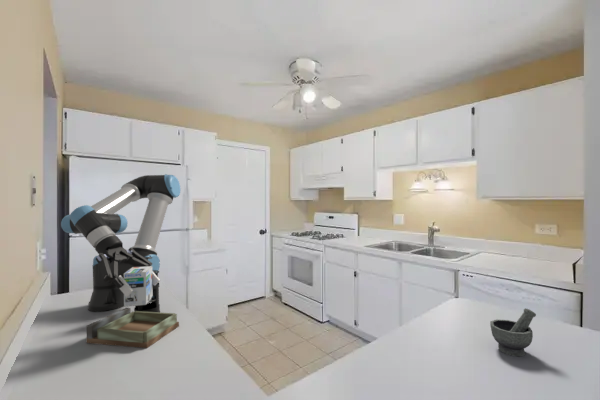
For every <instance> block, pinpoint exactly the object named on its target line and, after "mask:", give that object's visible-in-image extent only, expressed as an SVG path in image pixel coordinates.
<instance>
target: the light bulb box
mask: <svg viewBox="0 0 600 400" xmlns="http://www.w3.org/2000/svg"><path fill="white" fill-rule="evenodd" d="M124 280H125V281H126V282H127V283H128V284H129V286H130V287H131V288H132V289H133V291H132V293H131V294H130V295H129V296H128V297H126V296H125V295H124V306H123V307H125V308H129V307H135V306H138V305H146V304H147V303H148V302H149V300H150V299H151V297H152V296H153V281H152V280H153V279H152V266H146V267H132V268H131V269H129V270H128V271H127V272H125V273H124Z"/></svg>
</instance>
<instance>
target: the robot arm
mask: <svg viewBox="0 0 600 400" xmlns="http://www.w3.org/2000/svg"><path fill="white" fill-rule="evenodd" d="M180 195H181V185H180V181H179V179H178V178H177V177H176V175H173V174H166V173H165V174H149V175H148V174H147V175H146V174H145V175H142V176H139V177H136V178H134V179H132V180H130V181H128V182H126V183H124V184H123V185H122V186H121V187H120V189H118V190H116V191H115V192H113V193H111V194H110V195H108V196H106V197H105V198H102V199H101V200H100V201H98V202H96V203H94V204H92V205H87V204H86V205H85V204H84V205H81V206H78V207H76V208H75V209H73V211H71V212H70V214H67V215H65V216H64V217H63V218H62V219H61V222H60V227H61V229H62V230H63V232H65V233H67V234H73V235H79V234H80V235H81V234H82V235H83V237H84V238H85V239H86V240H87V241H88V243H89V244H90V245H91V246H92V247H93V249H94V250H95V252H97V254H98V255H95V256H94V258H93V261H92V292H91V296H90V300H89V301H88V303H87V309H88V311H90V312H105V311H106V312H107V311H111V310H117V309H120V308H122V307H124V295H125V296H126V297H128V296H129V295H130V294H131V293H132V291H133V289H132V288H131V287H130V286H129V284H128V283H127V282H126V281H125V280H124V273H125V272H127V271H128V270H129V269H131V268H132V267H146V266H152V279H153V280H152V281H153V285H154V286H155V285H156V284H157V283H160V281H161V279H160V278H159V276H158V277H157V276H156V275H155V273H154V272H153V270H158V271H160V265H161V264H160V262H161V261H160V258H159V256H158V252H157V251H156V246H157V244H158V239H159V238H160V237H159V236H160V232H161V230H162V227H163V223H164V220H165V217H166V216H165V215H166V213H167V210H168V206H169V205H171V204H173V201H174V199H175V198H178V197H179V196H180ZM141 199H148V203H147V206H146V209H145V212H144V215H143V218H142V222H141V225H140V227H139V231H138V234H137V236H136V239H135V242H134V245H133V246H132V247H129V248H128V249H126V248H124V247H123V242H122V240H121V239H120V238H119V237H118V235H116V234H120V233H123V232H125V230H127V227H128V218H126V217H125V215H123V214H119V213H117V212H119V211H121V210H122V209H123V208H124V207H126V206H127V205H129V204H131V203H133V202H134V203H135V202H138V201H140V200H141ZM144 257H152V258H151V259H148V260H147V259H146V258H144Z"/></svg>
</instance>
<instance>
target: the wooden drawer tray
mask: <svg viewBox="0 0 600 400" xmlns="http://www.w3.org/2000/svg"><path fill="white" fill-rule="evenodd" d="M177 318H178V313H174V312H161V311H160V312H143V311H136V312H134V311H132V312H131V307H125V308H123V309H120V310H119V311H115V312H113V313H111V314H109V315H107V316H105V317H102V318H100V319H97V320H96V321H94V322H90V323H89V324H87V325H86V326H85V327H86V332H85V333H86V344H94V345H95V344H96V345H106V346H117V347H118V346H119V347H127V348H128V347H129V348H142V349H148V348H149V347H151V346H152V345H154V344H155V343H157V342H158V341H160V340H161V339H162V338H164V337H166V336H167V335H168V334H170V333H171V332H173V331H174V330H176V328H178V327H180V322H179V321H178V320H177Z"/></svg>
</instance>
